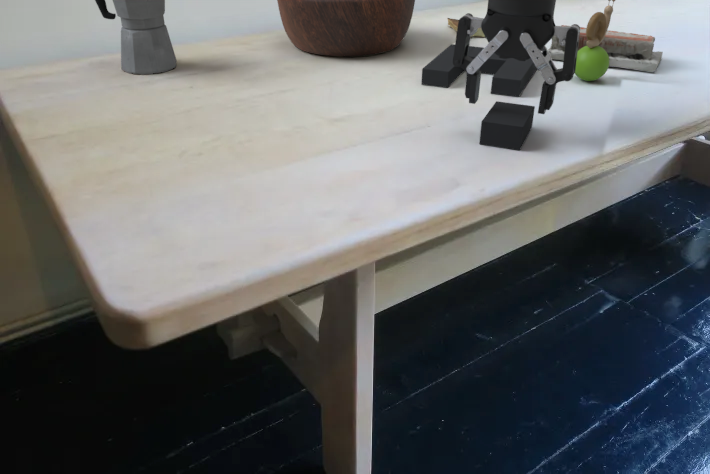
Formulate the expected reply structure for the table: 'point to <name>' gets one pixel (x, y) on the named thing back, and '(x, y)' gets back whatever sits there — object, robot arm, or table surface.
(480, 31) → the pie slice
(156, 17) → the coffeepot
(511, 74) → the base pad
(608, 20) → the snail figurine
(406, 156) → the table surface
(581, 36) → the weathered brick
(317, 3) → the wooden bowl
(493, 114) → the pad piece
